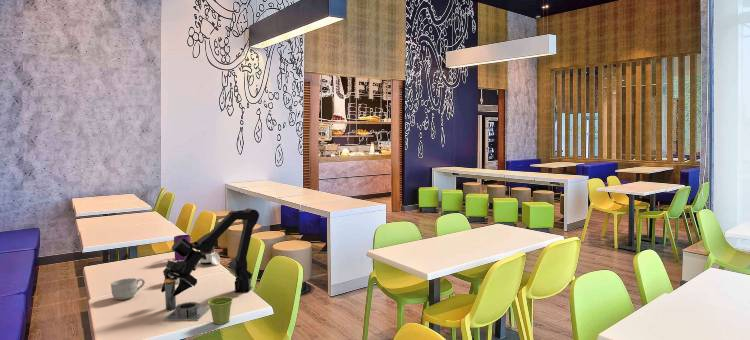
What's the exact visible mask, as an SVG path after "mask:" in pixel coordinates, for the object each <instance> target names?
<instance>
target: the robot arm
mask: <svg viewBox="0 0 750 340" xmlns="http://www.w3.org/2000/svg"><path fill="white" fill-rule="evenodd" d="M259 219H260V213H259V211H258V210H256V209H254V208H252V207H251V208H250V207H248V208H245V209H243V210H240V209H239V210H230V211H229V212H228V213H227V214H226V216H225V217H224V218H222V220H221V221H220V222H218V224H217V225H216V226H214V228H213V229H211V230H210V231H209V232H208V233H205V234H204V235H203V236H202V237H200V238H198V239H197V241H193V242H191V243H189V242H188V241H187V240H186V239H184V238H183V237H182V238H181V239H180V240H178V241H177V242H175V243H174V242H173V245H172V246H171V251H173V252H174V253H175V252H176V253H177V254H178V255H180V256H181V257H184V256H187V257H186V258H185V259H184V261H177V262H173V261H172V260H167V263H166V265H165V268H164V270H163V271H162V273H163V276H164V279H167V278H175V280H177V279H178V278H179V283H178V285H177V287H175V291H174V293H173V296H174V297H175V296H178V295H179V294H181V293H183V292H185V291H186V290H188V289H190V288H192V287H195V286H196V285H197V284H198V279H197V278H196V277H194V276H193V274H192V272H195V271H196V269H197V268H196V267H197V265H198V264H199V263H200V260H201V259H202V260H206V254H202V253H201V252H200V250H201V251H202V252H209V251H210V250H211V249H212V248H213V247H214V248H215V245H216V243H217V241H218V239H219V238H220V237H221V236H222V235H223V234H224V233H225V232H226V231H227V230H228V229H229V228H230V226H232V224H233V223H235V222H236V221H239V220H241V221H242V229H241V230H242V231H241V235H240V239H239V242H238V247H237V248H238V249H237V253H236V256H235V257H234V258H231V259H230V264H229V270H230V272H231V273H232V274H233V275H234V276H235V281H234V293H249V292H250V291H251V290H252V288H253V287H252V286H251V285H252V284H251V283H252V281H251V279H252V277H253V274H252V273H251V272H250V271H248V260H247V256H248V252H249V248H250V244H251V238H252V234H253V230H254V228H255V226H256V225H257V223H258V221H259ZM175 282H176V281H175ZM160 292H161V293H165V283H164V282H163V284H162V287H161V290H160Z"/></svg>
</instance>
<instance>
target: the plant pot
mask: <svg viewBox="0 0 750 340" xmlns="http://www.w3.org/2000/svg"><path fill="white" fill-rule="evenodd" d="M233 301H234V299H233V297H230V296H218V297H214V298H211V299H209V300H208V301H207V304H208V305H209V306H208V307H210V312H211V317H212V322H213V324H214V325H216V324H217V325H224V324H227V323H228V322H230V318H231V306H232V302H233Z"/></svg>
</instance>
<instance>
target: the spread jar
mask: <svg viewBox="0 0 750 340" xmlns="http://www.w3.org/2000/svg"><path fill="white" fill-rule="evenodd" d="M199 252H201V253H202V254H206V260H202V259H201V260H200V261H199V263H200V265H202V266H210V265H213V266H217V265H219V264H220V263H221V257H220V255H219V254H218V253H217V252H215V246H214V247H213V248H212V249H211V250H210V251H209V252H202V251H201V250H199Z"/></svg>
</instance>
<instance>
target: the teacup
mask: <svg viewBox="0 0 750 340" xmlns="http://www.w3.org/2000/svg"><path fill="white" fill-rule="evenodd" d="M139 282H141V285H139V286H138V284H139ZM145 284H146V281H145V279H144V278H138V279H137V278H134V277H131V278H129V277H128V278H121V279H118V280H114V281H112V282H111V283H110V289H111V295H112V297H113V298H115V299H116V300H118V301H119V300H120V301H122V300H123V301H124V300H128V299H132V298H133V297H134V296H135V295H136V294H137V292H138V291H140V289H142V288H143V287H144V285H145Z"/></svg>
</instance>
